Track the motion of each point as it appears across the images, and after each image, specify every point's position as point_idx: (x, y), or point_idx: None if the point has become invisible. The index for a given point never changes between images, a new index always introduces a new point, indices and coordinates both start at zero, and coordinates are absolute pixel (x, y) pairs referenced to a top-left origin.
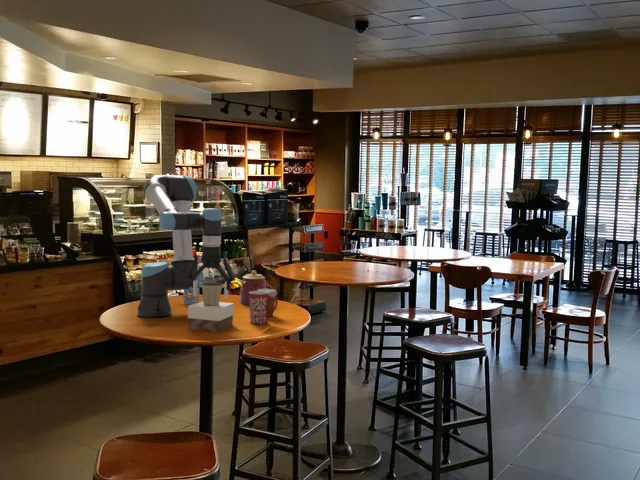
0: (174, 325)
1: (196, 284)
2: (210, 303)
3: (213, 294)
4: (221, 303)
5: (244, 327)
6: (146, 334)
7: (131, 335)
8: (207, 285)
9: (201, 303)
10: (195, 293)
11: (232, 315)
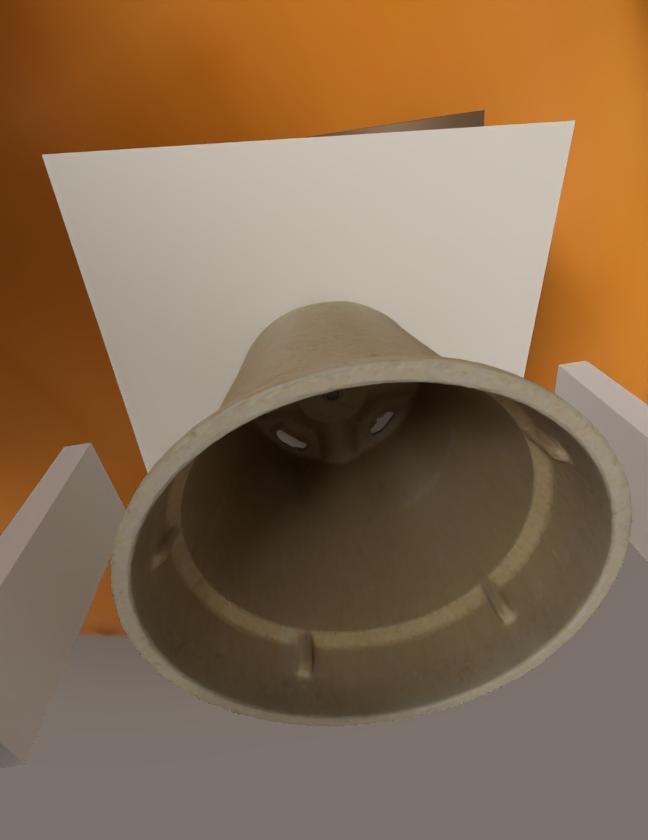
0: (34, 370)
1: (27, 624)
2: (366, 470)
3: (427, 544)
4: (405, 240)
5: (573, 156)
6: (113, 598)
7: None
8: (383, 718)
9: (182, 376)
10: (106, 523)
11: (480, 123)
